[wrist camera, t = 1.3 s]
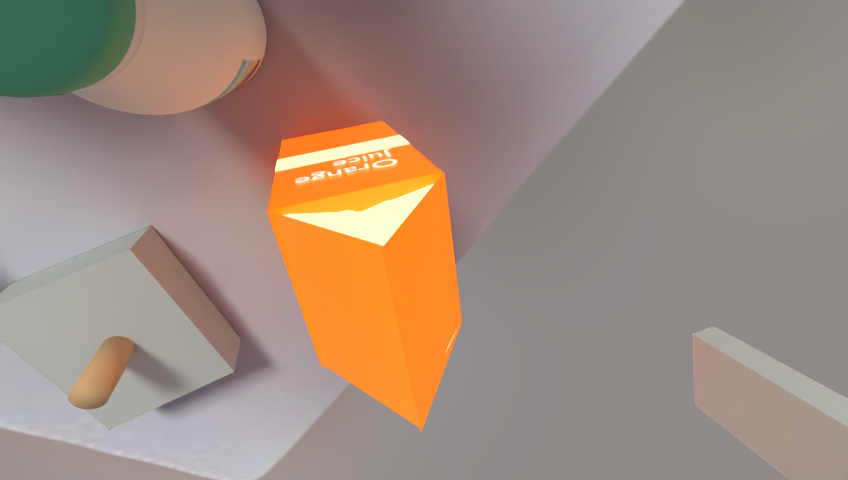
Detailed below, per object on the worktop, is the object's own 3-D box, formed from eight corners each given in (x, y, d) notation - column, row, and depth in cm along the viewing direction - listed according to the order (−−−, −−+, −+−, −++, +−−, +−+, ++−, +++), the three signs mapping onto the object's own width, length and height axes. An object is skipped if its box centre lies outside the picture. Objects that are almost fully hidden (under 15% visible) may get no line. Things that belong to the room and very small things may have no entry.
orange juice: (312, 245, 32) (325, 468, 15) (279, 139, 28) (246, 278, 11) (403, 223, 34) (511, 403, 17) (385, 119, 30) (501, 213, 12)
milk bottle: (119, -68, 22) (-601, -539, 4) (269, -30, 24) (190, -235, 7) (134, 81, 25) (-261, 152, 7) (266, 101, 27) (205, 190, 10)
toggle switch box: (12, 282, 28) (-94, 367, 20) (150, 225, 28) (98, 286, 21) (129, 390, 33) (81, 486, 26) (241, 339, 34) (224, 418, 27)
